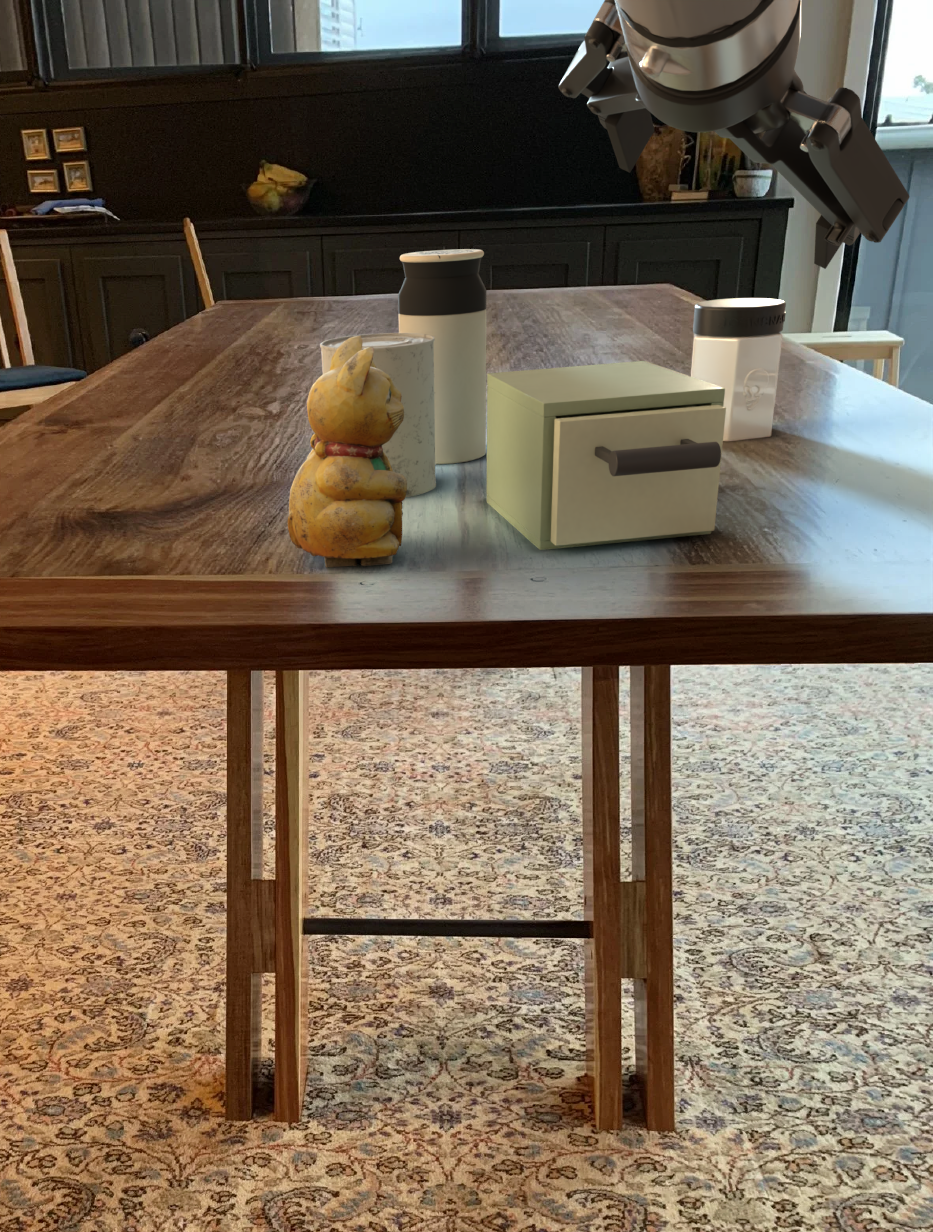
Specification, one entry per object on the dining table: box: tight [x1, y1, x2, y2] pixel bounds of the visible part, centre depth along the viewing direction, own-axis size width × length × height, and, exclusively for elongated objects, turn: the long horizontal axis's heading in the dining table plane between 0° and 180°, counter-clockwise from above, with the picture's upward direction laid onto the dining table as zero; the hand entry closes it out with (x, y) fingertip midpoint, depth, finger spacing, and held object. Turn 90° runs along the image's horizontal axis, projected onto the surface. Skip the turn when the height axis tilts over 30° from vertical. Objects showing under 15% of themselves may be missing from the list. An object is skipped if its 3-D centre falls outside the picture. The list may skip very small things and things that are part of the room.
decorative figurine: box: [286, 335, 407, 568], centre depth 83 cm, size 10×8×15 cm
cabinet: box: [486, 360, 725, 551], centre depth 90 cm, size 15×13×10 cm
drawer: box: [551, 404, 726, 546], centre depth 86 cm, size 18×12×8 cm, turn 8°
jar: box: [689, 297, 787, 442], centre depth 115 cm, size 9×8×12 cm
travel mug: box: [397, 248, 487, 465], centre depth 111 cm, size 8×8×18 cm
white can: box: [319, 332, 437, 498], centre depth 102 cm, size 10×10×12 cm
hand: (733, 196), depth 73 cm, fingers open, 13 cm apart
